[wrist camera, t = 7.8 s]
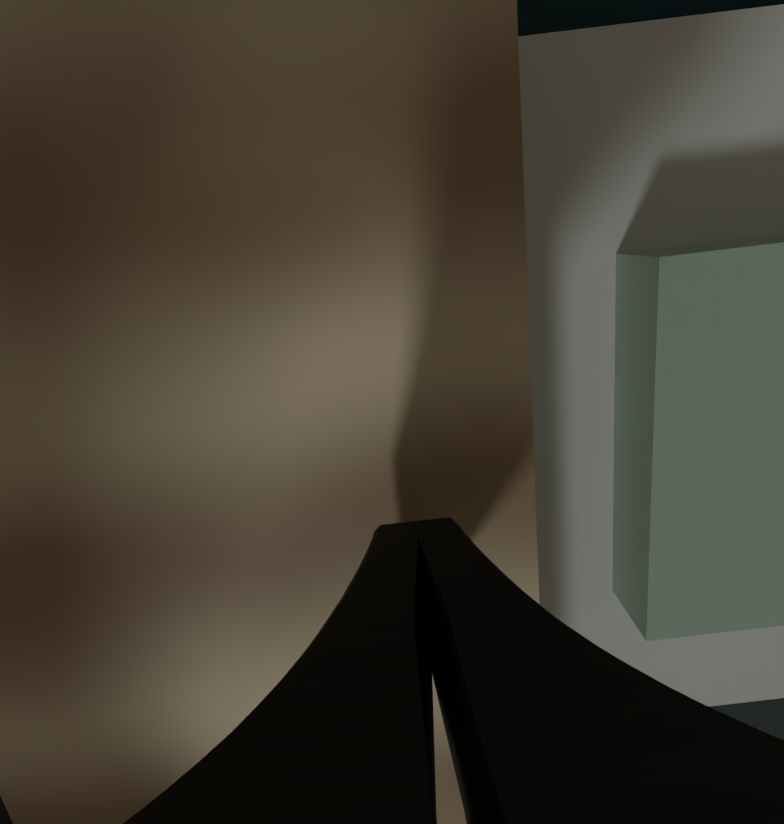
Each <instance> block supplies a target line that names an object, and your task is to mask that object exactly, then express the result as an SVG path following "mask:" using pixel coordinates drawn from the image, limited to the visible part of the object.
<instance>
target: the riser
mask: <svg viewBox="0 0 784 824" xmlns="http://www.w3.org/2000/svg"><path fill="white" fill-rule="evenodd" d="M447 517H450V518H451V519H453V520H454V521H455V522H456V523H457V524H458V525H459V526H460V528H461V529H462V530H463V531H464V532H465V534H466V535H467V536H468V537H469V538H470V539H471V540H472V542H473V543H474V544H475V545H476V546H477V547H478V548H479V549H480V550H481V551H482V552H483V553H484V554H485V555H486V556H487V557H488V558H489V559H490V560H491V561H492V562H493V563H494V564H495V565H496V566H497V567H498V568H499V569H500V570H501V571H502V572H503V573H504V574H505V575H506V576H507V577H508V578H509V579H510V580H512V581H513V582H514V583H515V584H516V585H517V586H518V587H519V588H521V589H522V590H523V591H524V592H525V593H526V594H527V595H529V596H530V597H531V598H532V599H533V600H535V601H536V602H537V603H538V604H540V603H539V577H538V550H537V523H536V497H535V470H534V443H533V417H532V390H531V363H530V337H529V310H528V283H527V257H526V230H525V203H524V177H523V150H522V123H521V97H520V70H519V43H518V17H517V0H0V796H1V798H2V801H3V803H4V805H5V807H6V809H7V812H8V814H9V816H10V818H11V820H12V823H13V824H123V823H124V822H125V821H127V820H128V819H129V818H131V817H132V816H133V815H135V814H136V813H137V812H139V811H140V810H141V809H143V808H144V807H145V806H146V805H148V804H149V803H150V802H151V801H152V800H154V799H155V798H156V797H157V796H159V795H160V794H161V793H162V792H164V791H165V790H166V789H167V788H168V787H170V786H171V785H172V784H173V783H174V782H175V781H177V780H178V779H179V778H180V777H181V776H183V775H184V774H185V773H186V772H187V771H188V770H190V769H191V768H192V767H193V766H194V765H195V764H197V763H198V762H199V761H200V760H201V759H202V758H203V757H205V756H206V755H207V754H208V753H209V752H210V751H211V750H212V749H213V748H214V747H216V746H217V745H218V744H219V743H220V742H221V741H222V740H223V739H224V738H226V737H227V736H228V735H229V734H230V733H231V732H232V731H233V730H234V729H235V728H236V727H237V726H238V725H239V724H240V723H241V722H242V721H243V720H244V719H245V718H246V717H247V716H248V715H249V714H250V713H251V712H252V711H253V710H254V709H255V708H256V707H257V706H258V704H259V703H260V702H261V701H262V700H263V699H264V698H265V697H266V696H267V695H268V694H269V693H270V691H271V690H272V689H273V688H274V687H275V686H276V685H277V684H278V683H279V682H280V681H281V679H282V678H283V677H284V676H285V675H286V673H287V672H288V671H289V670H290V669H291V667H292V666H293V665H294V664H295V663H296V661H297V660H298V659H299V658H300V656H301V655H302V654H303V653H304V651H305V650H306V649H307V647H308V646H309V645H310V643H311V642H312V641H313V639H314V638H315V637H316V635H317V634H318V633H319V631H320V630H321V628H322V627H323V625H324V624H325V622H326V621H327V619H328V618H329V616H330V615H331V613H332V612H333V610H334V609H335V607H336V606H337V604H338V603H339V601H340V600H341V598H342V596H343V595H344V593H345V591H346V589H347V588H348V586H349V584H350V582H351V581H352V579H353V577H354V575H355V573H356V572H357V570H358V568H359V566H360V564H361V562H362V560H363V558H364V556H365V554H366V552H367V550H368V547H369V545H370V543H371V540H372V537H373V534H374V531H375V530H376V529H377V528H378V527H379V526H380V525H384V524H393V523H402V522H411V521H420V520H429V519H438V518H447ZM432 684H433V717H434V751H435V785H436V815H437V824H467V822H466V817H465V812H464V807H463V803H462V799H461V795H460V790H459V786H458V782H457V778H456V773H455V769H454V765H453V761H452V756H451V752H450V748H449V744H448V739H447V735H446V731H445V727H444V722H443V718H442V714H441V710H440V705H439V701H438V697H437V692H436V688H435V684H434V680H433V675H432Z"/></svg>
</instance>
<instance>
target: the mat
mask: <svg viewBox="0 0 784 824" xmlns="http://www.w3.org/2000/svg"><path fill="white" fill-rule="evenodd" d="M518 43H519V70H520V97H521V123H522V150H523V177H524V203H525V230H526V257H527V283H528V310H529V337H530V363H531V390H532V417H533V443H534V470H535V497H536V523H537V550H538V577H539V603H540V605H541V606H542V607H543V608H544V609H546V610H547V611H548V612H549V613H551V614H552V615H553V616H555V617H556V618H557V619H559V620H560V621H561V622H563V623H564V624H566V625H567V626H569V627H570V628H572V629H573V630H575V631H576V632H578V633H579V634H581V635H582V636H583V637H585V638H586V639H588V640H589V641H591V642H592V643H594V644H595V645H597V646H598V647H600V648H602V649H603V650H605V651H607V652H608V653H610V654H612V655H613V656H615V657H616V658H618V659H620V660H621V661H623V662H625V663H627V664H629V665H630V666H632V667H634V668H636V669H638V670H639V671H641V672H643V673H645V674H646V675H648V676H650V677H652V678H654V679H655V680H657V681H659V682H661V683H663V684H664V685H666V686H668V687H670V688H672V689H674V690H676V691H678V692H680V693H682V694H684V695H686V696H688V697H690V698H692V699H694V700H696V701H698V702H700V703H702V704H704V705H706V706H717V705H725V704H734V703H743V702H752V701H760V700H769V699H778V698H784V625H783V626H774V627H766V628H757V629H748V630H740V631H731V632H722V633H713V634H705V635H696V636H687V637H679V638H670V639H661V640H653V641H646V640H645V639H644V637H643V636H642V634H641V633H640V631H639V630H638V628H637V627H636V625H635V624H634V622H633V621H632V619H631V618H630V616H629V615H628V613H627V612H626V610H625V609H624V607H623V606H622V604H621V603H620V601H619V600H618V598H617V597H616V595H615V594H614V592H613V591H612V569H613V475H614V382H615V288H616V254H619V253H627V252H636V251H644V250H653V249H661V248H669V247H678V246H686V245H694V244H703V243H711V242H720V241H728V240H736V239H745V238H753V237H762V236H770V235H778V234H784V4H781V5H773V6H764V7H756V8H748V9H740V10H732V11H723V12H715V13H707V14H699V15H691V16H682V17H674V18H666V19H658V20H650V21H641V22H633V23H625V24H617V25H609V26H600V27H592V28H584V29H576V30H568V31H559V32H551V33H543V34H535V35H527V36H518Z"/></svg>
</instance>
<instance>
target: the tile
mask: <svg viewBox="0 0 784 824" xmlns="http://www.w3.org/2000/svg"><path fill="white" fill-rule="evenodd" d="M612 591H613V592H614V594H615V595H616V597H617V598H618V600H619V601H620V603H621V604H622V606H623V607H624V609H625V610H626V612H627V613H628V615H629V616H630V618H631V619H632V621H633V622H634V624H635V625H636V627H637V628H638V630H639V631H640V633H641V634H642V636H643V637H644V639H645V640H646V641H653V640H661V639H670V638H679V637H687V636H696V635H705V634H713V633H722V632H731V631H740V630H748V629H757V628H766V627H774V626H783V625H784V234H778V235H770V236H762V237H753V238H745V239H736V240H728V241H720V242H711V243H703V244H694V245H686V246H678V247H669V248H661V249H653V250H644V251H636V252H627V253H619V254H616V288H615V382H614V475H613V569H612Z"/></svg>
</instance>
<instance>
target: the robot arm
mask: <svg viewBox="0 0 784 824" xmlns="http://www.w3.org/2000/svg"><path fill="white" fill-rule="evenodd" d="M432 675H433V680H434V684H435V688H436V692H437V697H438V701H439V705H440V710H441V714H442V718H443V722H444V727H445V731H446V735H447V739H448V744H449V748H450V752H451V756H452V761H453V765H454V769H455V773H456V778H457V782H458V786H459V790H460V795H461V799H462V803H463V807H464V812H465V817H466V822H467V824H784V741H783V740H781V739H778V738H776V737H774V736H771V735H769V734H767V733H764V732H762V731H760V730H758V729H756V728H753V727H751V726H749V725H747V724H745V723H743V722H740V721H738V720H736V719H734V718H732V717H730V716H727V715H725V714H723V713H721V712H719V711H717V710H714V709H712V708H710V707H708V706H706V705H704V704H702V703H700V702H698V701H696V700H694V699H692V698H690V697H688V696H686V695H684V694H682V693H680V692H678V691H676V690H674V689H672V688H670V687H668V686H666V685H664V684H663V683H661V682H659V681H657V680H655V679H654V678H652V677H650V676H648V675H646V674H645V673H643V672H641V671H639V670H638V669H636V668H634V667H632V666H630V665H629V664H627V663H625V662H623V661H621V660H620V659H618V658H616V657H615V656H613V655H612V654H610V653H608V652H607V651H605V650H603V649H602V648H600V647H598V646H597V645H595V644H594V643H592V642H591V641H589V640H588V639H586V638H585V637H583V636H582V635H581V634H579V633H578V632H576V631H575V630H573V629H572V628H570V627H569V626H567V625H566V624H564V623H563V622H561V621H560V620H559V619H557V618H556V617H555V616H553V615H552V614H551V613H549V612H548V611H547V610H546V609H544V608H543V607H542V606H541V605H540V604H538V603H537V602H536V601H535V600H533V599H532V598H531V597H530V596H529V595H527V594H526V593H525V592H524V591H523V590H522V589H521V588H519V587H518V586H517V585H516V584H515V583H514V582H513V581H512V580H510V579H509V578H508V577H507V576H506V575H505V574H504V573H503V572H502V571H501V570H500V569H499V568H498V567H497V566H496V565H495V564H494V563H493V562H492V561H491V560H490V559H489V558H488V557H487V556H486V555H485V554H484V553H483V552H482V551H481V550H480V549H479V548H478V547H477V546H476V545H475V544H474V543H473V542H472V540H471V539H470V538H469V537H468V536H467V535H466V534H465V532H464V531H463V530H462V529H461V528H460V526H459V525H458V524H457V523H456V522H455V521H454V520H453V519H451V518H450V517H447V518H438V519H429V520H420V521H411V522H402V523H393V524H384V525H380V526H379V527H378V528H377V529H376V530H375V531H374V534H373V537H372V540H371V543H370V545H369V547H368V550H367V552H366V554H365V556H364V558H363V560H362V562H361V564H360V566H359V568H358V570H357V572H356V573H355V575H354V577H353V579H352V581H351V582H350V584H349V586H348V588H347V589H346V591H345V593H344V595H343V596H342V598H341V600H340V601H339V603H338V604H337V606H336V607H335V609H334V610H333V612H332V613H331V615H330V616H329V618H328V619H327V621H326V622H325V624H324V625H323V627H322V628H321V630H320V631H319V633H318V634H317V635H316V637H315V638H314V639H313V641H312V642H311V643H310V645H309V646H308V647H307V649H306V650H305V651H304V653H303V654H302V655H301V656H300V658H299V659H298V660H297V661H296V663H295V664H294V665H293V666H292V667H291V669H290V670H289V671H288V672H287V673H286V675H285V676H284V677H283V678H282V679H281V681H280V682H279V683H278V684H277V685H276V686H275V687H274V688H273V689H272V690H271V691H270V693H269V694H268V695H267V696H266V697H265V698H264V699H263V700H262V701H261V702H260V703H259V704H258V706H257V707H256V708H255V709H254V710H253V711H252V712H251V713H250V714H249V715H248V716H247V717H246V718H245V719H244V720H243V721H242V722H241V723H240V724H239V725H238V726H237V727H236V728H235V729H234V730H233V731H232V732H231V733H230V734H229V735H228V736H227V737H226V738H224V739H223V740H222V741H221V742H220V743H219V744H218V745H217V746H216V747H214V748H213V749H212V750H211V751H210V752H209V753H208V754H207V755H206V756H205V757H203V758H202V759H201V760H200V761H199V762H198V763H197V764H195V765H194V766H193V767H192V768H191V769H190V770H188V771H187V772H186V773H185V774H184V775H183V776H181V777H180V778H179V779H178V780H177V781H175V782H174V783H173V784H172V785H171V786H170V787H168V788H167V789H166V790H165V791H164V792H162V793H161V794H160V795H159V796H157V797H156V798H155V799H154V800H152V801H151V802H150V803H149V804H148V805H146V806H145V807H144V808H143V809H141V810H140V811H139V812H137V813H136V814H135V815H133V816H132V817H131V818H129V819H128V820H127V821H125V822H124V823H123V824H437V815H436V785H435V751H434V717H433V684H432Z"/></svg>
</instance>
